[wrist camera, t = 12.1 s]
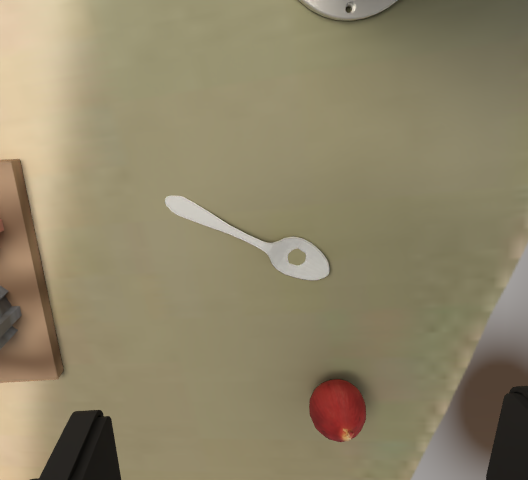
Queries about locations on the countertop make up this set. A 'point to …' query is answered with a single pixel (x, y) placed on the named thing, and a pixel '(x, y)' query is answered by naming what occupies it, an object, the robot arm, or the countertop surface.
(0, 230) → the pink gear
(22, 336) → the gear board
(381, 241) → the countertop surface
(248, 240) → the spoon
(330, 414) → the onion
